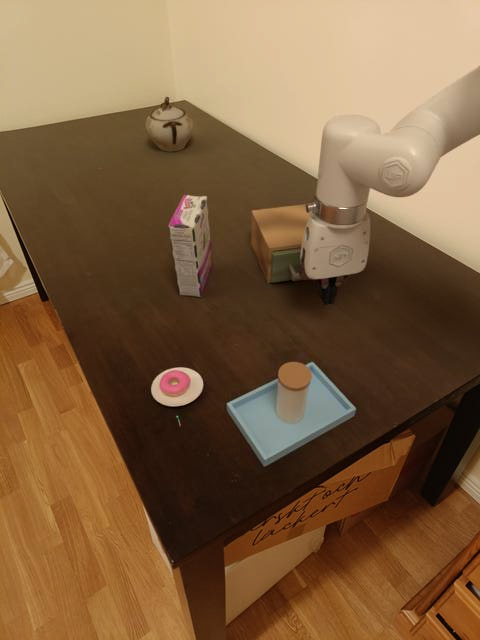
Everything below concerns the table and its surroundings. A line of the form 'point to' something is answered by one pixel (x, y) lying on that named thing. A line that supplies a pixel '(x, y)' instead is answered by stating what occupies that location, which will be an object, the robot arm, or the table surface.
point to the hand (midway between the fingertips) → (326, 299)
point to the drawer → (286, 265)
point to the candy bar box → (191, 245)
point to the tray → (282, 438)
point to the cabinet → (276, 232)
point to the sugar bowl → (169, 127)
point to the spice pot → (292, 392)
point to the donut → (177, 387)
